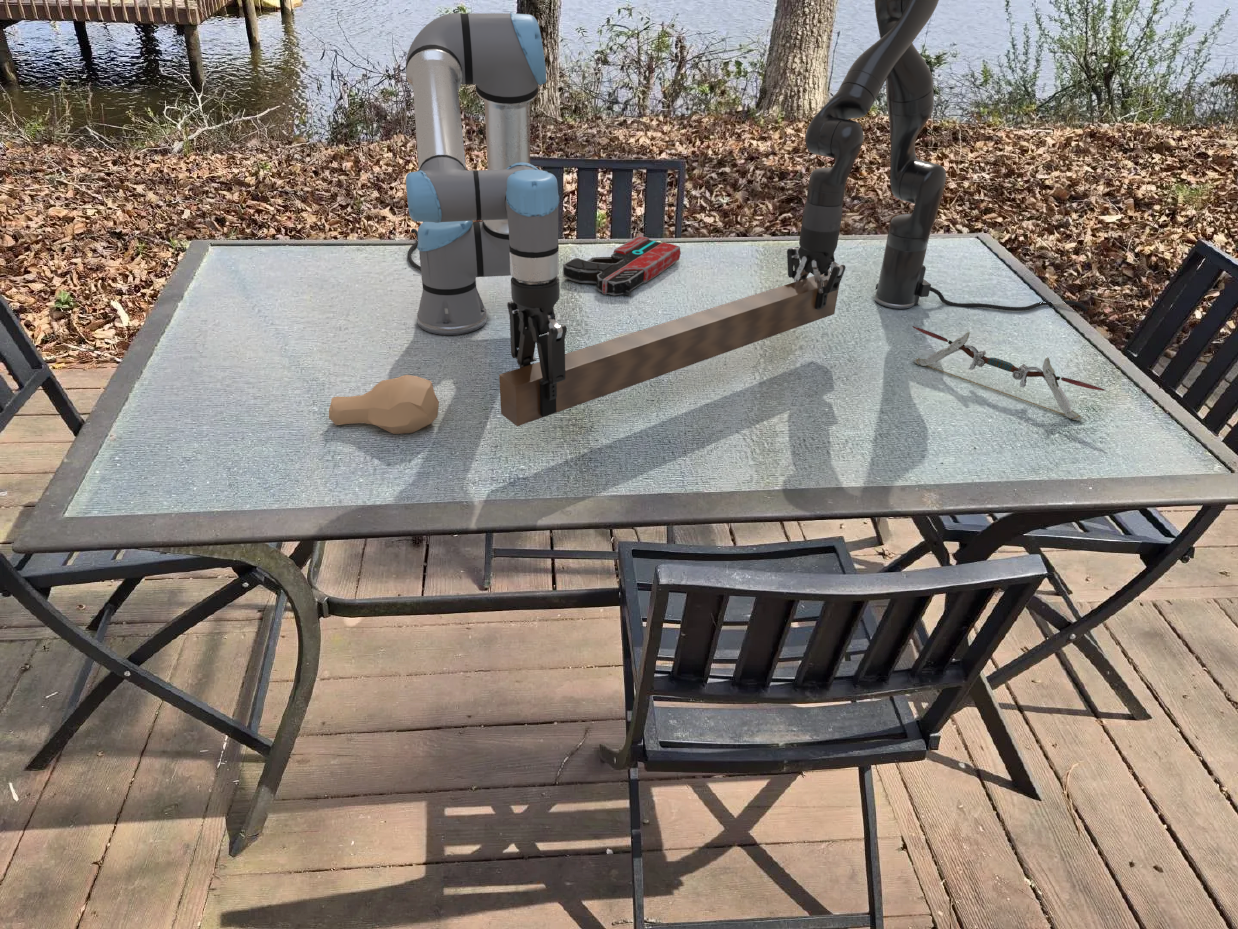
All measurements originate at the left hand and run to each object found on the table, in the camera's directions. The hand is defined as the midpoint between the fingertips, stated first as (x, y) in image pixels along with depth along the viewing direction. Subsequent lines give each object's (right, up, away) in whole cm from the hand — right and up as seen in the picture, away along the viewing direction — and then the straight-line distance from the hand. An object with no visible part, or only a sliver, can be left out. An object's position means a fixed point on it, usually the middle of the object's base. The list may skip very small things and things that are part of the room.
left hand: (538, 406), depth 148 cm
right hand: (+53, +24, +35) cm, 68 cm away
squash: (-29, -3, +11) cm, 31 cm away
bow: (+89, +5, +28) cm, 93 cm away
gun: (+15, +39, +76) cm, 87 cm away
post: (+27, +10, +18) cm, 34 cm away
